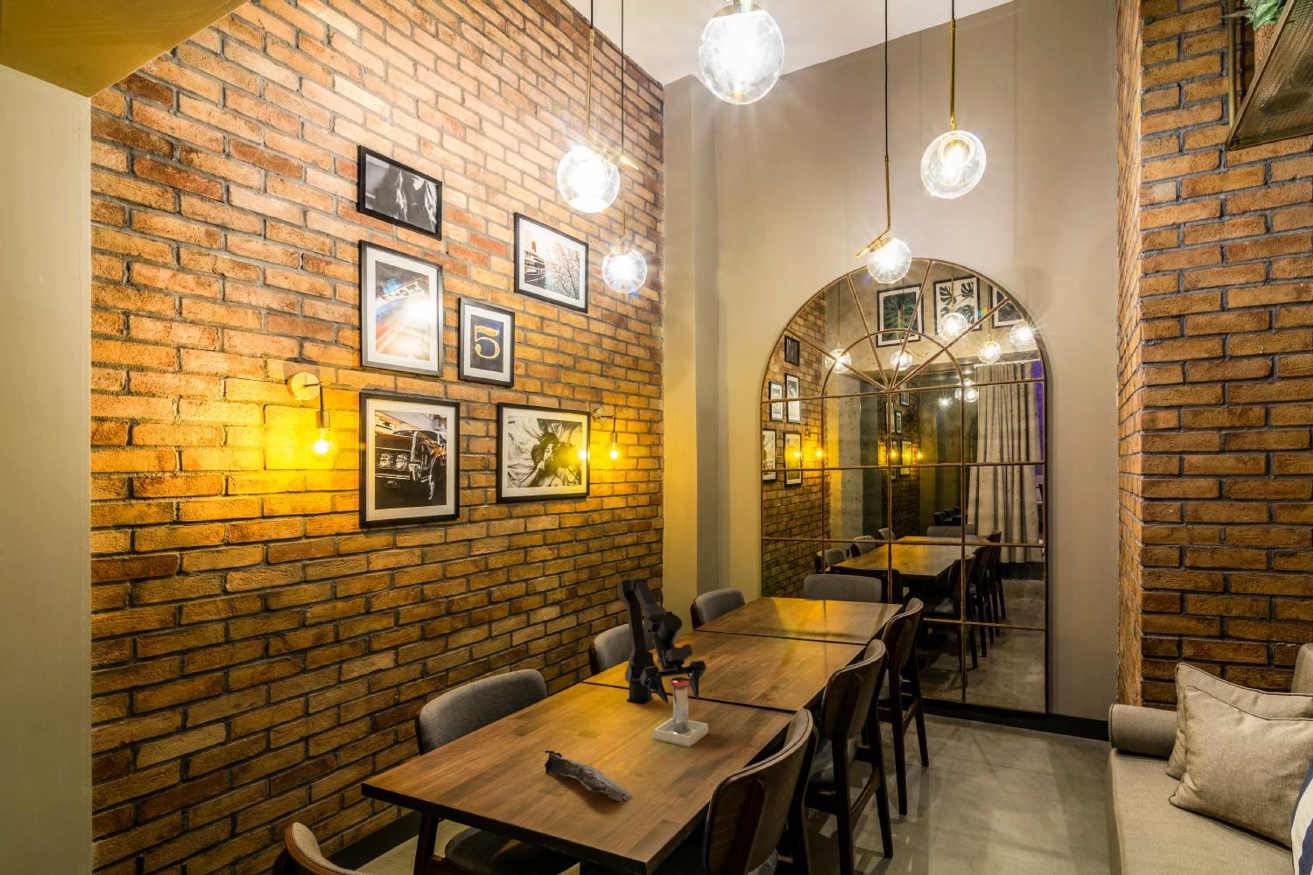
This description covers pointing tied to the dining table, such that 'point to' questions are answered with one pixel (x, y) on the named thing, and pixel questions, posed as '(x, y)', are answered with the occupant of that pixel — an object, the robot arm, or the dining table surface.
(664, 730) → the tray
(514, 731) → the dining table surface
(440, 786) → the dining table surface
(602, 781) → the tree bark piece
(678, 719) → the stop pin
